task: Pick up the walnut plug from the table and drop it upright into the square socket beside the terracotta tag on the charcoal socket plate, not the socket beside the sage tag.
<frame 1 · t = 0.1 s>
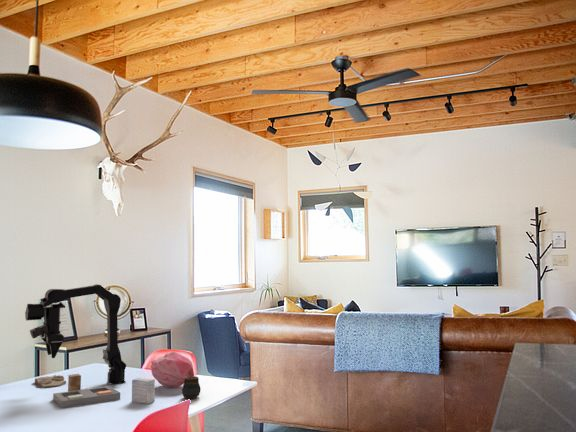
hand: (51, 356, 224), 15 cm above the table, tool pointing down, fingers open, 9 cm apart
socket plate: (85, 398, 213), on the table
fossil: (49, 385, 237), on the table
decorative rock: (171, 387, 232), on the table
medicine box: (143, 402, 208), on the table
mate gourd: (190, 398, 214), on the table
plug: (74, 392, 222), on the table
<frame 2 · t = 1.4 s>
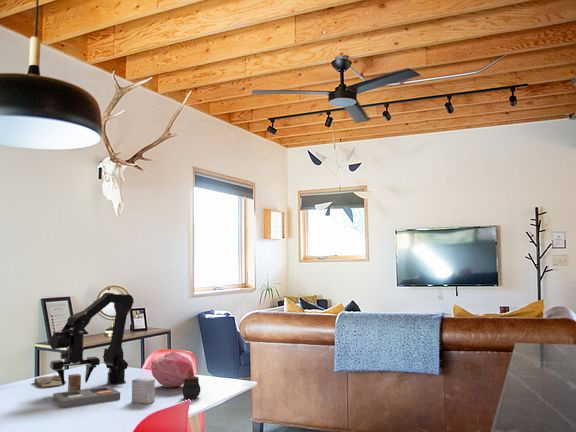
hand: (74, 383, 223), 3 cm above the table, tool pointing down, fingers open, 9 cm apart
nothing on the table moved.
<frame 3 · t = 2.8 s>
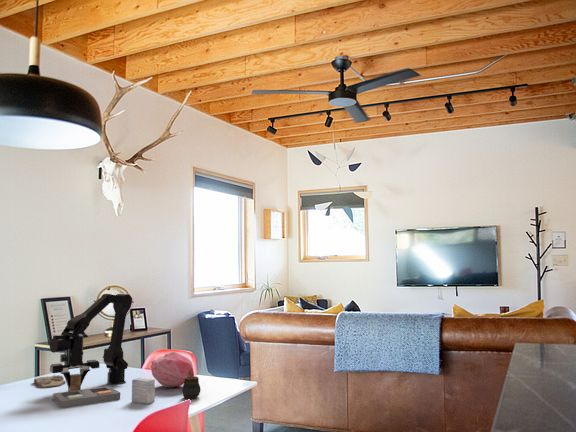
hand: (74, 387, 223), 2 cm above the table, tool pointing down, fingers closed on plug, 4 cm apart
plug: (74, 392, 222), on the table, touching gripper
everything else where it was.
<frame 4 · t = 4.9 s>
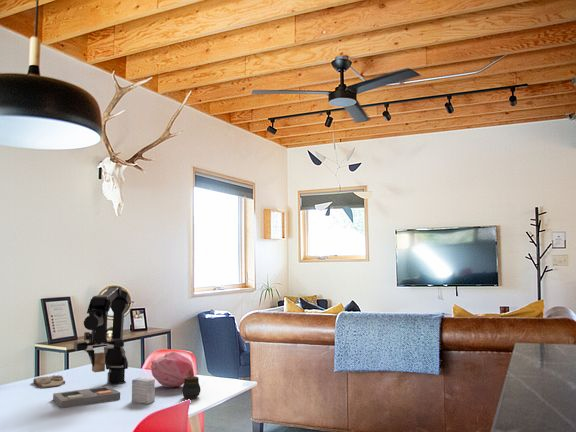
hand: (98, 365, 217), 12 cm above the table, tool pointing down, fingers closed on plug, 4 cm apart
plug: (98, 370, 217), point 10 cm above the table, touching gripper
everything else where it was.
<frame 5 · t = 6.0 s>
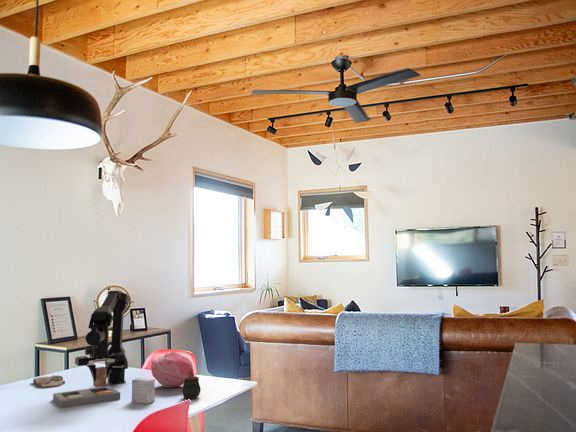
hand: (99, 380, 216), 6 cm above the table, tool pointing down, fingers closed on plug, 4 cm apart
plug: (99, 385, 216), point 4 cm above the table, touching gripper
everything else where it was.
when the fingers open (5 cm above the table, at t = 7.0 s): plug drops 3 cm, resting in socket plate.
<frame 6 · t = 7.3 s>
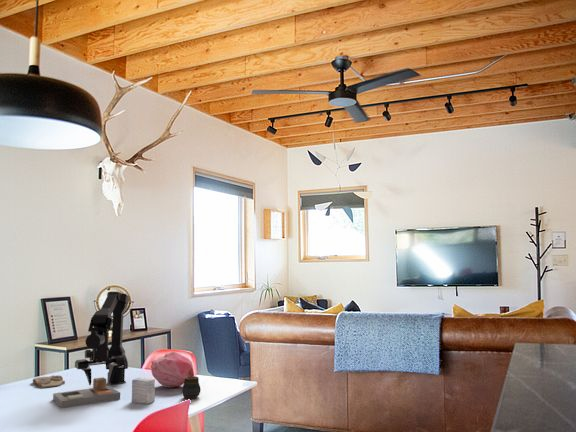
hand: (99, 383, 216), 5 cm above the table, tool pointing down, fingers open, 7 cm apart
plug: (99, 396, 216), resting in socket plate
everything else where it was.
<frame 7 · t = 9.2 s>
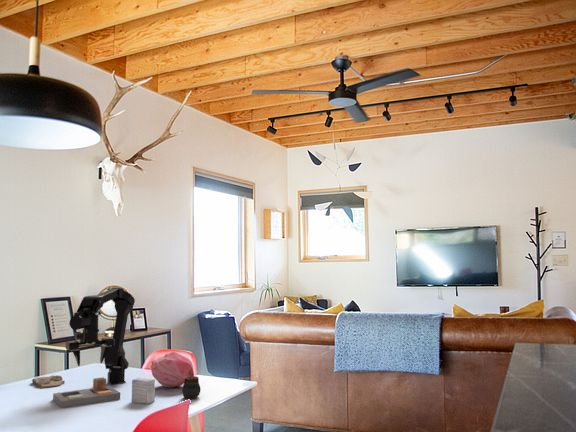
hand: (90, 364, 222), 12 cm above the table, tool pointing down, fingers open, 9 cm apart
nothing on the table moved.
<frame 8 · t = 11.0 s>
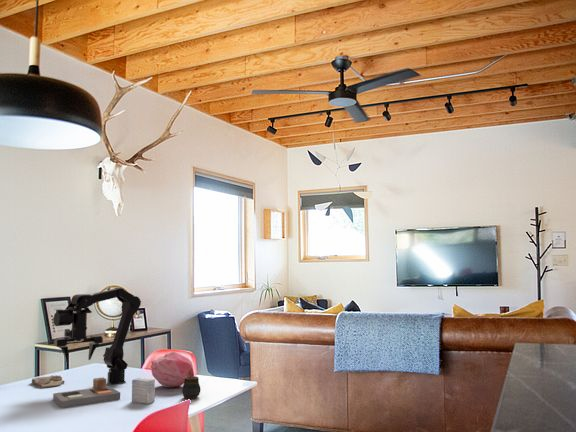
hand: (78, 361, 227), 12 cm above the table, tool pointing down, fingers open, 9 cm apart
nothing on the table moved.
at the end: plug 0.0 cm from the target spot on the socket plate, point 0.0 cm above the socket plate's base; plug tilted 0°; the gripper is holding nothing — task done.
